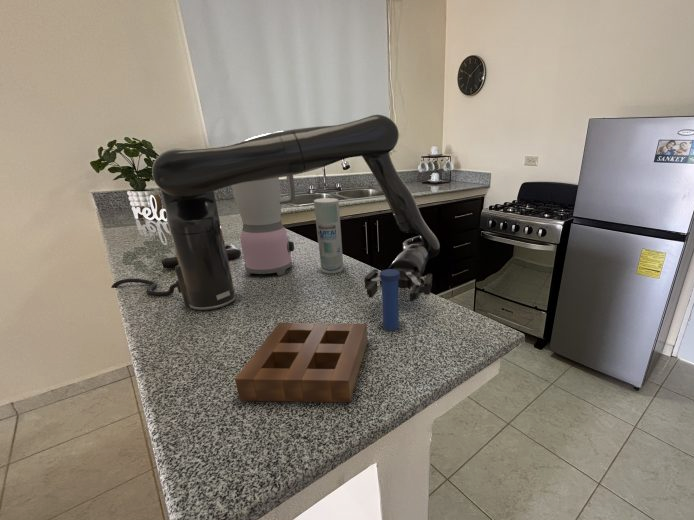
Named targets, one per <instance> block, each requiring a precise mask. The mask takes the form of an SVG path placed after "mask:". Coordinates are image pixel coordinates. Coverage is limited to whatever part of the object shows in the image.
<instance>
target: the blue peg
mask: <svg viewBox="0 0 694 520" xmlns="http://www.w3.org/2000/svg"><path fill="white" fill-rule="evenodd" d="M379 273H380V279H381V280H382V289H381V299H382V300H381V303H382V327H383V329H384V330H385V331H390V332H391V331H396V330H398V329H399V327H400V314H399V313H400V312H399V311H400V309H399V305H400V304H399V288H398V280H399V279H400V272H399V271H398V270H395V269H389V268H387V269H383V270H381V271H380V272H379Z"/></svg>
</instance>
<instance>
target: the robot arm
mask: <svg viewBox="0 0 694 520" xmlns="http://www.w3.org/2000/svg"><path fill="white" fill-rule="evenodd" d="M399 136H400V133H399V128H398V126H397V124H396V123H395V122H394V121H393V119H391V118H390V117H388V116H386V115H384V114H372V115H369V116H366V117H363V118H360V119H357V120H356V119H355V120H353V121H349V122H345V123H341V124H335V125H321V126H310V127H301V128H293V129H292V128H291V129H286V130H280V131H275V132H269V133H266V134H261V135H258V136H253V137H251V138H248V139H246V140H243V141H240V142H236V143H233V144H230V145H226V146H218V147H208V148H207V147H206V148H198V149H195V148H194V149H187V148H181V147H180V148H178V147H175V148H170V149H166V150H165V151H163V152H161V153H159V154H158V156H157V157H156V158H155V159H154V161H153V164H152V168H151V173H152V175H151V176H152V179H153V181H154V183H155V185H156V186H157V187H158V188H159V189H160V192H161V196H162V199H163V204H164V208H165V215H166V223H167V226H168V229H169V233H170V236H171V240H172V244H173V247H174V251H175V252H174V253H175V255H176V256H175V257H177V259H178V263H179V265H177V266H176V267H175V268H174V270H175V273H176V277H177V280H175V282H174V283H172V284H170V286H169V288H168V290H165V291H156V290H155V289H156V288H157V286H158V284H157V282H155V281H153V280H150V279H149V280H148V279H144V278H123V279H120V280H117V281H115V282H114V283H112V285H111V289H115V288H117V287H119V286H120V285H122V284H128V283H138V284H146V285H150V286H149V287H147V289H146V293H147V294H148V295H149V296H155V297H166V296H170V295H172V294H173V293H174V292H175V289H176V288H177V291H178V293H179V294H181V296H182V299H183V304H184V307H185V308H190V309H192V310H195V311H211V310H216V309H220V308H223V307H226V306H229V305H230V304H232V303H234V301H236V299H237V294H236V290H235V287H234V282H233V277H232V271H231V267H230V262H229V259H228V257H227V252H226V248H225V245H226V243H225V239H224V234H223V229H222V224H221V220H220V214H219V207H218V204H217V200H216V196H215V191H218V190H222V189H224V188H228V187H232V185H235V184H239V183H244V182H250V181H259V180H267V179H273V178H279V179H280V178H284V177H286V176H291V175H293V176H295V175H299V174H303V173H307V172H308V173H309V172H311V171H315V170H319V169H321V168H324V167H327V166H330V165H332V164H334V163H337V162H340V161H343V160H346V159H350V158H355V157H362V159H363V160H364V162H365V164H366V165H367V166H368V168H369V170H370V171H371V173H372V175H373V177H374V179H375V180H376V182H377V185H378V186H379V187H380V190H381V192H382V193H383V195H384V197H385V200H386V202H387V204H388V206H389V208H390V211H391V214H392V215H393V218H394V220H395V222H396V225H397V227H398V229H399V231H400V232H402V233H415V234H418V235H417V236H413V237H411V238H408V239H405V240H404V241H403V242H402V244H401V245H402V247H401V248H402V251H401V252H399V254H398V255H397V256H396V258H395V259H394V260H393V261H392V263H391V264H389V265H390V266H389V267H388V269H395V270H398V271H399V272H400V279H399V280H398V289H402V290H407V291H409V302H410V303H411V302H412V303H414V302H415V301H417V300H418V299H419V297H420V296H421V295H422V294H424V295H425V296H428V295H431V290H432V286H433V273H427V274H426V275H424V276H423V274H424V273H425V270H426V266H427V264H428V262H429V259H432V258H434V257H437V256H438V255H439V253H440V251H441V244H440V241H439V239H438V238H437V236H436V235H435V233H434V232H433V231H432V230H431V229H430V227H429V226H428V224H427V223H426V222H425V220H424V217H423V216H422V214H421V212H420V209H419V206H418V204H417V202H416V199H415V197H414V195H413V194H412V191H411V190H410V189H409V187H408V186H407V184H406V182H404V180H403V179H402V178H401V176H400V174H399V172H398V171H397V169H396V167H395V165H394V163H393V161H392V158H391V155H390V153H391V152H392V151H393V150H394V149H395V148H396V146H397V144H398V142H399V138H400V137H399ZM363 279H364V289H365V290H366V296H368V298H371V299H373V298H374V297H375V295H376V294H377V292H378V291H380V290H381V291H382V280H381V279H380V272H379V269H376V268H375V269H372V270H371V271H370V272H369V273H368V274H367V275H366V276H364V278H363ZM378 283H379V285H378Z"/></svg>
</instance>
